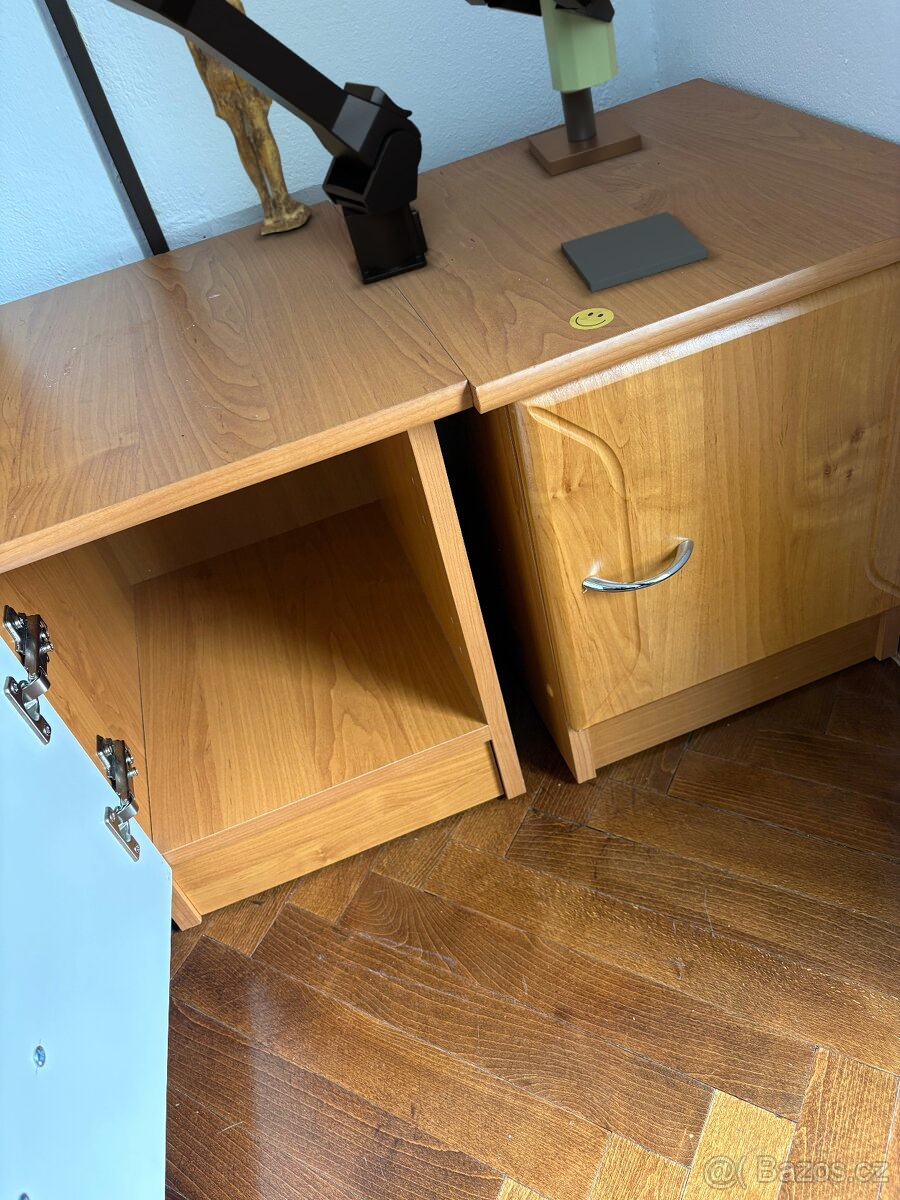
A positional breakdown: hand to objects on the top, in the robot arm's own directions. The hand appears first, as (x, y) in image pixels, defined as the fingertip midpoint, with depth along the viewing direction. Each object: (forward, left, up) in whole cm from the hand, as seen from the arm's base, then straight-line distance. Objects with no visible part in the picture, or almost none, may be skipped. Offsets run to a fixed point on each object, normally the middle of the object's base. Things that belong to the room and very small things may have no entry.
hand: (588, 16), depth 99 cm
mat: (-5, -26, -14) cm, 30 cm away
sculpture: (-35, +8, -14) cm, 39 cm away
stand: (-1, +4, -14) cm, 14 cm away
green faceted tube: (-1, -1, -5) cm, 6 cm away
